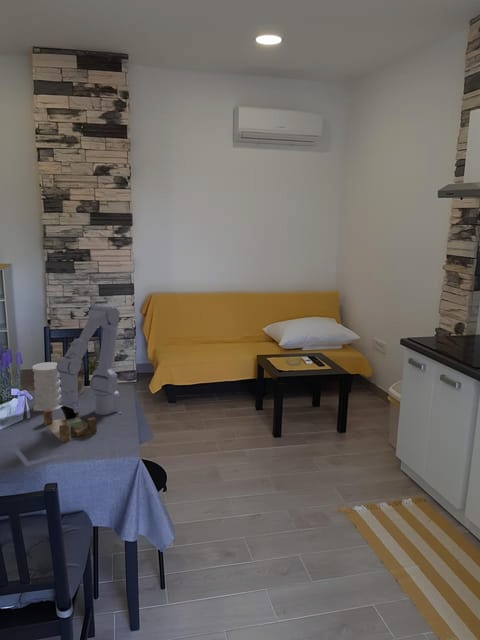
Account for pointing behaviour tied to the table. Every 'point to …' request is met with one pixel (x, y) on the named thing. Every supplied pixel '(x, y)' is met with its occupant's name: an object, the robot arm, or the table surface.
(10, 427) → the table surface
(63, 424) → the stool board
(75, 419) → the lock block
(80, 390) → the coffee box
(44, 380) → the decorative container
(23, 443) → the table surface
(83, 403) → the table surface
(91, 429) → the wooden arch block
